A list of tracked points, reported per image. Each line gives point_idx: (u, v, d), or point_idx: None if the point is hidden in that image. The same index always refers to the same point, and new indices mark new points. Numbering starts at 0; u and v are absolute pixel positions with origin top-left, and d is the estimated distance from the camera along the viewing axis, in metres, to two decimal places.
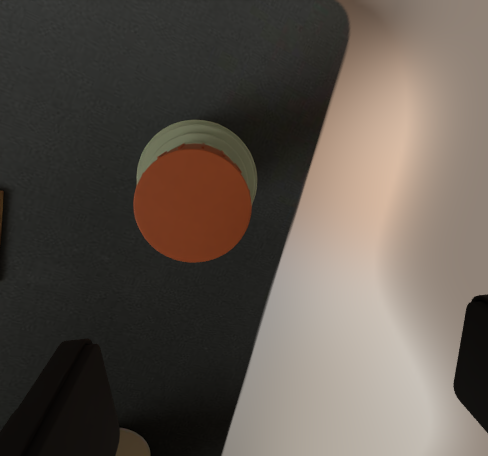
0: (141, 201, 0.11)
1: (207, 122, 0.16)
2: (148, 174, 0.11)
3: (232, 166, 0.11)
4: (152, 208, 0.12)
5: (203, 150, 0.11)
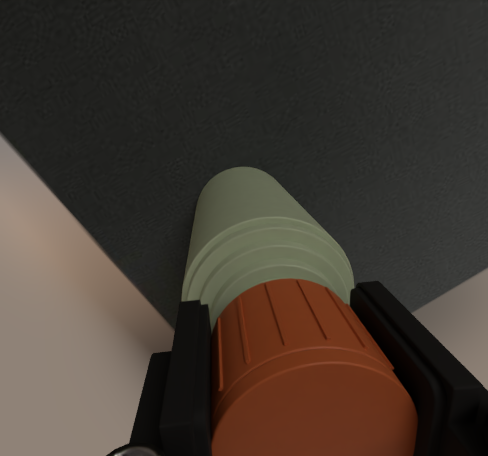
0: (394, 399, 0.06)
1: None
2: (411, 430, 0.06)
3: None
4: (372, 405, 0.06)
5: None
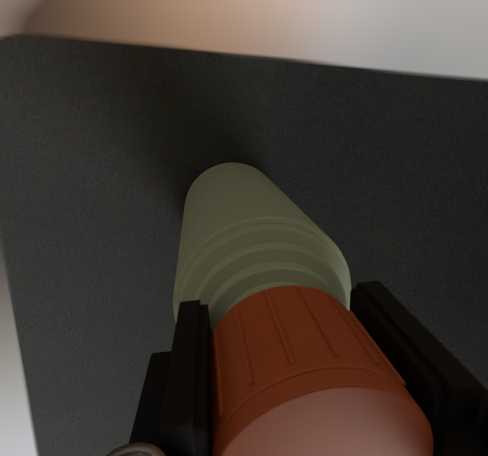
0: (409, 420, 0.06)
1: (175, 308, 0.11)
2: (425, 450, 0.06)
3: None
4: (386, 428, 0.06)
5: None
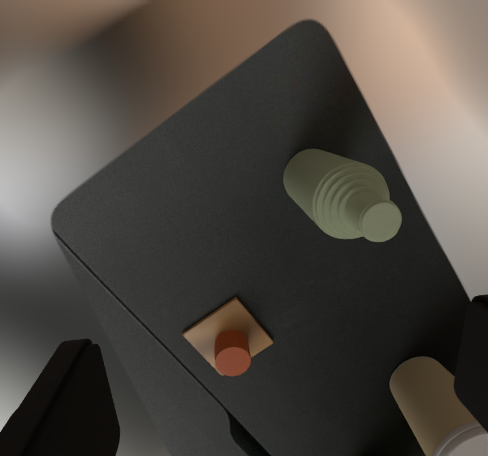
0: (239, 372, 0.39)
1: (330, 172, 0.25)
2: (231, 374, 0.39)
3: (215, 360, 0.38)
4: (239, 369, 0.39)
5: (216, 367, 0.38)
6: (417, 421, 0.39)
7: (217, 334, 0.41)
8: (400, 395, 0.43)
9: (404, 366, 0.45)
